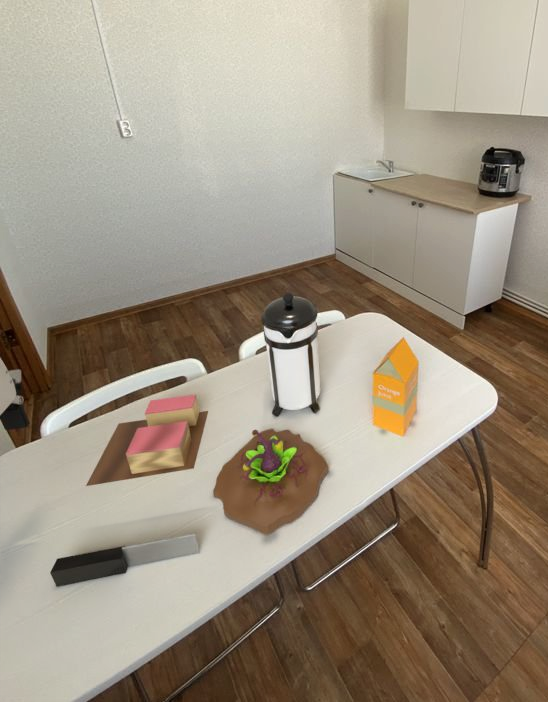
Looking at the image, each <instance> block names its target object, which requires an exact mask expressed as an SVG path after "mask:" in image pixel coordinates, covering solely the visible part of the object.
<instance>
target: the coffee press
mask: <svg viewBox="0 0 548 702" xmlns="http://www.w3.org/2000/svg"><path fill="white" fill-rule="evenodd" d="M317 318H318V309H317V307H316V306H315V305H314V304H313V303H312V301H311V300H309V299H307V298H304V297H301V296H297V295H296V296H295V295H293V294H292V293H290V292H286V293H284V295H283V297H279V298H276V299H275V300H273V301H271V302H269V304H268V305H267V306H266V307H265V308H264V310H263V312H262V314H261V315H260V320H261V324H262V325H263V339H264V343H265V346H266V355H267V362H268V363H267V364H268V372H269V380H270V389H271V396H272V400H273V402H274V406H273V408H272V412H271V414H272V415H273V416H274V417H275V418H279V416H280V415H281V413H282V411H283V410H287V411H297V410H298V411H299V410H302V409H305V408H307V407H309V409H310V410H311V412H312V413H313V414H317V413H318V412H319V411H320V410H321V409H320V406H319V404H318V402H317V400H318V398H319V396H320V393H321V376H320V360H319V359H320V358H319V344H318V342H319V341H318V335H319V330H318V329H319V328H318V323H317V322H318V321H317Z"/></svg>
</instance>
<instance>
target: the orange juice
mask: <svg viewBox="0 0 548 702" xmlns="http://www.w3.org/2000/svg"><path fill="white" fill-rule="evenodd" d="M419 363H420V362H419V359H418V358H417V356H416V354H415V353H414V351H413V350H412V348H411V346H410V345H409V343H408V342H407V341H406V338H405V337H404V336H403V337H402V338H401V339H400V340H399V341H397V342H396V344H394V346H393V347H392V348H391V349H389V351H387V353H386V354H385V356H384V357H383V358H382V360H381V362H380V363H379V364H378V366H377V367H376V368H375V369H374V371H373V372H372V425H373V426H375V427H377V428H379V429H382V430H385V431H387V432H390V433H392V434H395V435H398V436H401V437H404V436H405V434H406V432H407V431H408V428H409V427H410V424H411V422H412V420H413V418H414V416H415V414H416V412H417V405H418V404H417V403H418V387H419V385H418V384H419V382H418V381H419Z"/></svg>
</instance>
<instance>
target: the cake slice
mask: <svg viewBox="0 0 548 702" xmlns="http://www.w3.org/2000/svg"><path fill="white" fill-rule="evenodd" d="M200 412H201V411H200V408H199V403H198V399H197V394H196V393H195V394H189V395H180V396H172V397H166V398H157V399H151V400H149V403H148V405H147V407H146V409H145V412H144V416H145V420H147V423H148V427H149V426H156V425H163V424H170V423H177V422H184V421H187V422H188V426H194V425H196V423H197V420H198V416H199V413H200Z"/></svg>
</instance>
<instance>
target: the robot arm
mask: <svg viewBox="0 0 548 702" xmlns="http://www.w3.org/2000/svg"><path fill="white" fill-rule="evenodd" d="M23 387H24V385H23V382H22V370H21V369H11V370H8V368H7V366H6V365H5V363H4V361H3V360H2V358H1V357H0V421H1V423H2V426H3V429H4V431H12V430H18V429H26V428H28V426H30V420H29V417H28V416H27V413H26V411H25V408H24V406H23V403H24V400H25V399H24V397H23V396H22V392H23Z"/></svg>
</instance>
